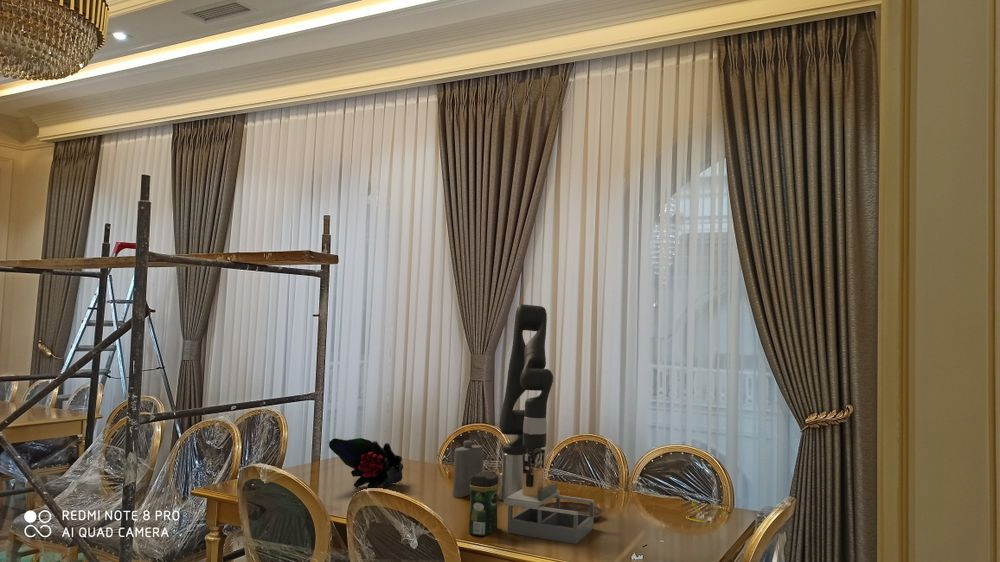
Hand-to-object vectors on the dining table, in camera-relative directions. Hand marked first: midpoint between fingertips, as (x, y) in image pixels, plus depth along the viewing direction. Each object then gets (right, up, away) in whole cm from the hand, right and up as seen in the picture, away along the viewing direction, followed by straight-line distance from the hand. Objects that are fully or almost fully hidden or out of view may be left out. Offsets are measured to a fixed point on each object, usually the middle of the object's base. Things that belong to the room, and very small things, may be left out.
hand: (533, 484), depth 221 cm
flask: (-23, -17, +45) cm, 53 cm away
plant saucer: (+14, -17, +16) cm, 27 cm away
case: (+5, -14, -4) cm, 16 cm away
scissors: (+63, -19, +27) cm, 71 cm away
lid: (0, -5, 0) cm, 5 cm away
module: (0, -3, 0) cm, 3 cm away
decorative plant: (-60, -16, +48) cm, 79 cm away
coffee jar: (-16, -14, -5) cm, 22 cm away
